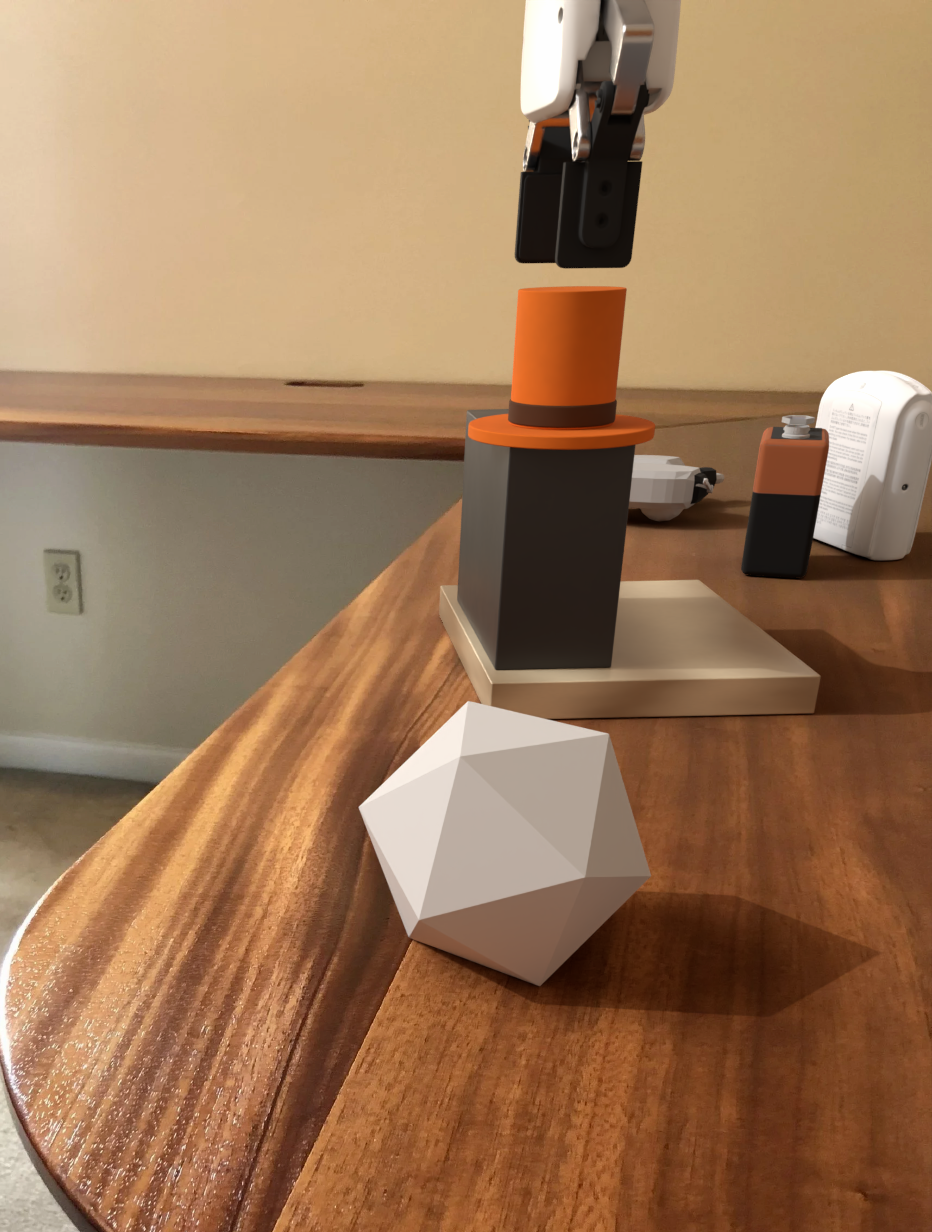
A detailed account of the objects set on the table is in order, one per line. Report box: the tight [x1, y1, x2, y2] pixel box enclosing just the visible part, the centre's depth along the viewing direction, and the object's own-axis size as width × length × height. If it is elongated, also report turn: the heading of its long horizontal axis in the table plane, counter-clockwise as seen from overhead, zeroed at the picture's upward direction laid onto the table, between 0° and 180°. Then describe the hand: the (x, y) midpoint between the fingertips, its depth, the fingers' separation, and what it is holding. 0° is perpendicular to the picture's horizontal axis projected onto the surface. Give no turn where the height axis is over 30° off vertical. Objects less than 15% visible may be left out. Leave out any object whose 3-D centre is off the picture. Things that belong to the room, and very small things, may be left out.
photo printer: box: [813, 370, 932, 562], centre depth 95 cm, size 10×4×12 cm, turn 11°
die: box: [358, 700, 652, 987], centre depth 43 cm, size 8×9×10 cm
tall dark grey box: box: [457, 408, 637, 670], centre depth 70 cm, size 6×14×11 cm, turn 0°
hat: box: [468, 285, 656, 450], centre depth 62 cm, size 9×9×7 cm
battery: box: [740, 414, 829, 579], centre depth 91 cm, size 4×7×10 cm, turn 159°
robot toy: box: [629, 454, 725, 522], centre depth 111 cm, size 12×4×15 cm
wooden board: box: [438, 579, 822, 720], centre depth 74 cm, size 16×20×2 cm
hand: (567, 264), depth 60 cm, fingers open, 9 cm apart
